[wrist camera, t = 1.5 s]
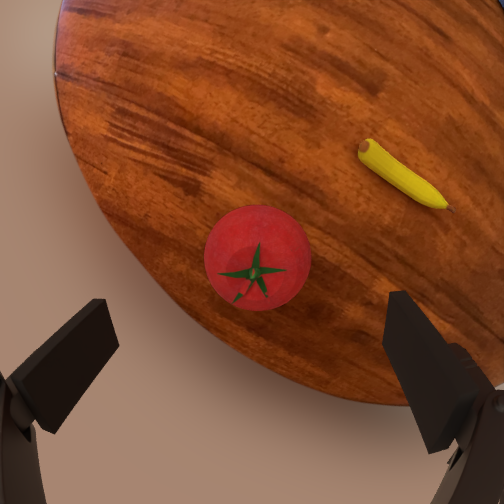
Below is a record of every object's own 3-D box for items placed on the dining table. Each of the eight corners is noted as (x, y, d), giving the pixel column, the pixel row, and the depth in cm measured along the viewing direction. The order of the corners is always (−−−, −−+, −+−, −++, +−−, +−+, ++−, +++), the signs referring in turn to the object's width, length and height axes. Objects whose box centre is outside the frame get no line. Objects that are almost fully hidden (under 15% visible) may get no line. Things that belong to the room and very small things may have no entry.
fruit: (436, 193, 25) (462, 202, 20) (426, 211, 26) (451, 223, 21) (354, 135, 24) (370, 131, 20) (343, 155, 25) (358, 154, 20)
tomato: (242, 302, 30) (231, 348, 23) (196, 226, 28) (167, 253, 21) (322, 264, 28) (337, 303, 21) (279, 181, 26) (281, 191, 19)
